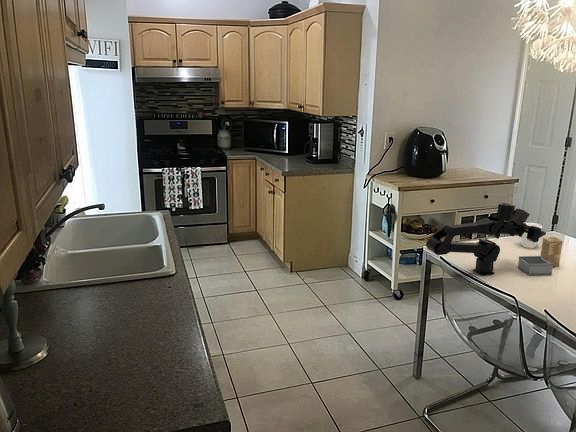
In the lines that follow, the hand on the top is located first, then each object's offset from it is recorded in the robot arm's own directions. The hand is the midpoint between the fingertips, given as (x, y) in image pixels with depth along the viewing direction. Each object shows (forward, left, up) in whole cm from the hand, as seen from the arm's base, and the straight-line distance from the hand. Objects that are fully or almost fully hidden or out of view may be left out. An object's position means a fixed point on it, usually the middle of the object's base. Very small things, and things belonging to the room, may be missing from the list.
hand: (537, 230), depth 209 cm
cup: (+17, +22, -17) cm, 32 cm away
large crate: (-4, -5, -17) cm, 18 cm away
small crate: (+8, -1, -17) cm, 18 cm away
